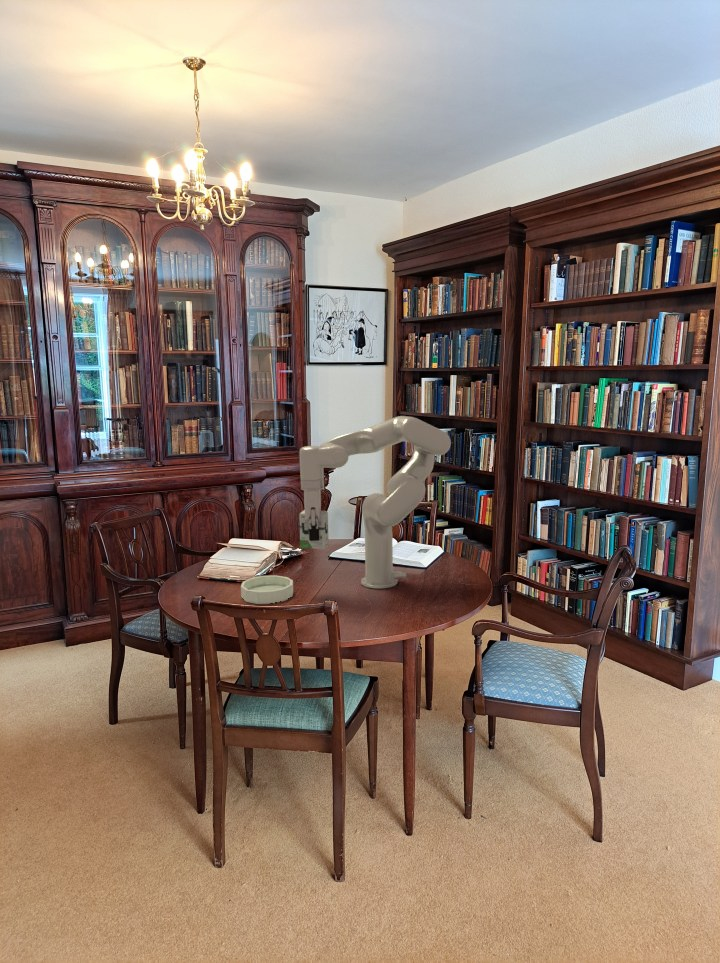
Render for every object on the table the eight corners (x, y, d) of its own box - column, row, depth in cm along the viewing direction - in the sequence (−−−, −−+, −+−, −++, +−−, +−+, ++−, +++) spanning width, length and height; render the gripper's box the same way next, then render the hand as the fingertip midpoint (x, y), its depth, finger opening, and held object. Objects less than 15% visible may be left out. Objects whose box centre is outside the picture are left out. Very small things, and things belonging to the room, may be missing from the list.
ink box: (299, 548, 212) (298, 512, 210) (304, 544, 216) (303, 509, 214) (324, 549, 209) (323, 513, 207) (329, 545, 214) (328, 510, 212)
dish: (294, 585, 223) (293, 574, 223) (291, 602, 207) (291, 590, 206) (245, 587, 222) (244, 576, 222) (238, 604, 206) (238, 592, 205)
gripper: (301, 480, 218) (304, 532, 221) (299, 489, 201) (302, 545, 204) (324, 479, 218) (325, 531, 221) (323, 488, 201) (325, 544, 204)
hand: (314, 537), depth 212 cm, fingers closed on ink box, 6 cm apart
